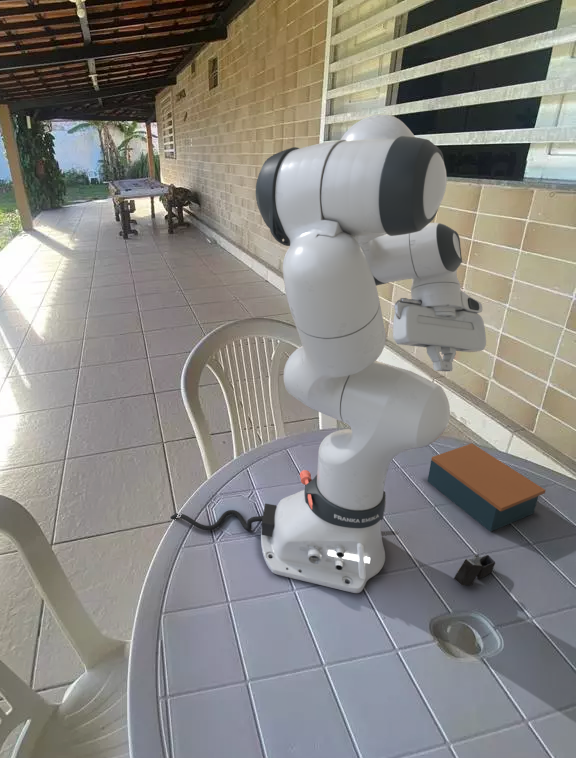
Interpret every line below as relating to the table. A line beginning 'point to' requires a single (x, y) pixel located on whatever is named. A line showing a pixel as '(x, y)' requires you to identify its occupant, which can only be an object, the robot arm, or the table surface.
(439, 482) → the case
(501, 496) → the cover
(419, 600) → the table surface
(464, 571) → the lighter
